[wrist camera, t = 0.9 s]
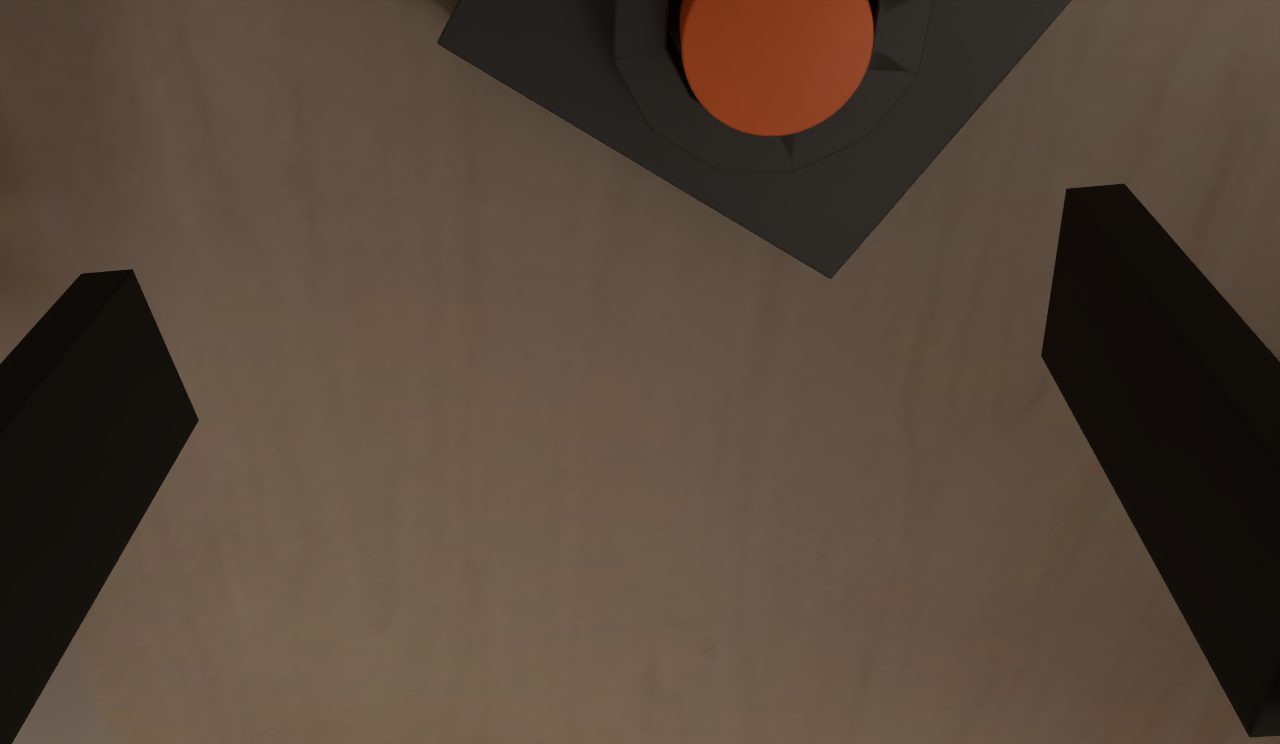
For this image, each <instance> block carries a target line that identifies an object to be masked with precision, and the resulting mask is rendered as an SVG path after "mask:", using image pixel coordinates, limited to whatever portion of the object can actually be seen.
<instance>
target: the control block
mask: <svg viewBox="0 0 1280 744" xmlns="http://www.w3.org/2000/svg"><path fill="white" fill-rule="evenodd" d="M682 1H683V0H459V1H458V3H457V5H456V7H455V9H454V11H453V13H452V15H451V17H450V19H449V20H448V22H447V24H446V26H445V28H444V30H443V32H442V34H441V36H440V38H439V40H438V44H439V45H440V46H442V47H443V48H445V49H447V50H448V51H450V52H452V53H453V54H455V55H457V56H459V57H460V58H462V59H464V60H465V61H467V62H469V63H470V64H472V65H474V66H475V67H477V68H479V69H480V70H482V71H484V72H485V73H487V74H489V75H490V76H492V77H494V78H495V79H497V80H499V81H500V82H502V83H504V84H505V85H507V86H509V87H510V88H512V89H514V90H515V91H517V92H519V93H520V94H522V95H524V96H525V97H527V98H529V99H530V100H532V101H534V102H535V103H537V104H539V105H540V106H542V107H544V108H545V109H547V110H549V111H550V112H552V113H554V114H555V115H557V116H559V117H560V118H562V119H564V120H565V121H567V122H569V123H570V124H572V125H574V126H576V127H577V128H579V129H581V130H582V131H584V132H586V133H587V134H589V135H591V136H592V137H594V138H596V139H597V140H599V141H601V142H602V143H604V144H606V145H607V146H609V147H611V148H612V149H614V150H616V151H617V152H619V153H621V154H622V155H624V156H626V157H627V158H629V159H631V160H632V161H634V162H636V163H637V164H639V165H641V166H642V167H644V168H646V169H647V170H649V171H651V172H652V173H654V174H656V175H657V176H659V177H661V178H662V179H664V180H666V181H667V182H669V183H671V184H672V185H674V186H676V187H677V188H679V189H681V190H682V191H684V192H686V193H687V194H689V195H691V196H693V197H694V198H696V199H698V200H699V201H701V202H703V203H704V204H706V205H708V206H709V207H711V208H713V209H714V210H716V211H718V212H719V213H721V214H723V215H724V216H726V217H728V218H729V219H731V220H733V221H734V222H736V223H738V224H739V225H741V226H743V227H744V228H746V229H748V230H749V231H751V232H753V233H754V234H756V235H758V236H759V237H761V238H763V239H764V240H766V241H768V242H769V243H771V244H773V245H774V246H776V247H778V248H779V249H781V250H783V251H784V252H786V253H788V254H789V255H791V256H793V257H794V258H796V259H798V260H799V261H801V262H803V263H805V264H806V265H808V266H810V267H811V268H813V269H815V270H816V271H818V272H820V273H821V274H823V275H825V276H826V277H828V278H830V279H831V278H832V277H833V276H834V275H835V274H836V273H837V271H838V270H839V269H840V268H841V267H842V266H843V264H844V263H845V262H846V261H847V260H848V259H849V258H850V256H851V255H852V254H853V253H854V252H855V251H856V249H857V248H858V247H859V246H860V245H861V244H862V242H863V241H864V240H865V239H866V238H867V237H868V236H869V234H870V233H871V232H872V231H873V230H874V229H875V227H876V226H877V225H878V224H879V223H880V222H881V220H882V219H883V218H884V217H885V216H886V215H887V213H888V212H889V211H890V210H891V209H892V208H893V207H894V205H895V204H896V203H897V202H898V201H899V200H900V198H901V197H902V196H903V195H904V194H905V193H906V191H907V190H908V189H909V188H910V187H911V186H912V185H913V183H914V182H915V181H916V180H917V179H918V178H919V176H920V175H921V174H922V173H923V172H924V171H925V169H926V168H927V167H928V166H929V165H930V164H931V162H932V161H933V160H934V159H935V158H936V157H937V156H938V154H939V153H940V152H941V151H942V150H943V149H944V147H945V146H946V145H947V144H948V143H949V142H950V140H951V139H952V138H953V137H954V136H955V135H956V134H957V132H958V131H959V130H960V129H961V128H962V127H963V125H964V124H965V123H966V122H967V121H968V120H969V118H970V117H971V116H972V115H973V114H974V113H975V112H976V110H977V109H978V108H979V107H980V106H981V105H982V103H983V102H984V101H985V100H986V99H987V98H988V96H989V95H990V94H991V93H992V92H993V91H994V89H995V88H996V87H997V86H998V85H999V84H1000V83H1001V81H1002V80H1003V79H1004V78H1005V77H1006V76H1007V74H1008V73H1009V72H1010V71H1011V70H1012V69H1013V67H1014V66H1015V65H1016V64H1017V63H1018V62H1019V61H1020V59H1021V58H1022V57H1023V56H1024V55H1025V54H1026V52H1027V51H1028V50H1029V49H1030V48H1031V47H1032V45H1033V44H1034V43H1035V42H1036V41H1037V40H1038V39H1039V37H1040V36H1041V35H1042V34H1043V33H1044V32H1045V30H1046V29H1047V28H1048V27H1049V26H1050V25H1051V23H1052V22H1053V21H1054V20H1055V19H1056V18H1057V16H1058V15H1059V14H1060V13H1061V12H1062V11H1063V10H1064V8H1065V7H1066V6H1067V5H1068V4H1069V3H1070V1H1071V0H868V2H869V5H870V8H871V12H872V17H873V24H874V41H873V50H872V54H871V58H870V62H869V65H868V68H867V70H866V73H865V75H864V77H863V79H862V81H861V83H860V85H859V86H858V88H857V89H856V91H855V92H854V93H853V95H852V96H851V97H850V98H849V100H848V101H847V102H846V103H845V104H844V105H843V106H842V107H841V108H840V109H839V110H838V111H837V112H835V113H834V114H833V115H831V116H830V117H829V118H827V119H826V120H824V121H823V122H821V123H819V124H817V125H815V126H813V127H811V128H808V129H806V130H803V131H801V132H797V133H793V134H788V135H781V136H760V135H753V134H749V133H745V132H741V131H739V130H736V129H733V128H731V127H729V126H728V125H726V124H724V123H722V122H721V121H719V120H718V119H716V118H715V117H714V116H712V115H711V114H710V113H709V112H708V111H707V110H706V109H705V108H704V107H703V106H702V104H701V103H700V102H699V100H698V99H697V98H696V96H695V94H694V93H693V91H692V89H691V87H690V85H689V83H688V80H687V78H686V75H685V71H684V67H683V61H682V54H681V41H680V11H681V4H682Z"/></svg>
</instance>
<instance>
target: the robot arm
mask: <svg viewBox="0 0 1280 744" xmlns="http://www.w3.org/2000/svg"><path fill="white" fill-rule="evenodd" d="M1041 356H1042V358H1043V360H1044V362H1045V364H1046V366H1047V367H1048V369H1049V371H1050V373H1051V375H1052V377H1053V378H1054V380H1055V382H1056V384H1057V386H1058V388H1059V389H1060V391H1061V393H1062V395H1063V397H1064V398H1065V400H1066V402H1067V404H1068V406H1069V408H1070V409H1071V411H1072V413H1073V415H1074V417H1075V419H1076V420H1077V422H1078V424H1079V426H1080V428H1081V430H1082V431H1083V433H1084V435H1085V437H1086V439H1087V441H1088V442H1089V444H1090V446H1091V448H1092V450H1093V452H1094V453H1095V455H1096V457H1097V459H1098V461H1099V463H1100V464H1101V466H1102V468H1103V470H1104V472H1105V474H1106V475H1107V477H1108V479H1109V481H1110V483H1111V485H1112V486H1113V488H1114V490H1115V492H1116V494H1117V496H1118V497H1119V499H1120V501H1121V503H1122V505H1123V506H1124V508H1125V510H1126V512H1127V514H1128V516H1129V517H1130V519H1131V521H1132V523H1133V525H1134V527H1135V528H1136V530H1137V532H1138V534H1139V536H1140V538H1141V539H1142V541H1143V543H1144V545H1145V547H1146V549H1147V550H1148V552H1149V554H1150V556H1151V558H1152V560H1153V561H1154V563H1155V565H1156V567H1157V569H1158V571H1159V572H1160V574H1161V576H1162V578H1163V580H1164V582H1165V583H1166V585H1167V587H1168V589H1169V591H1170V593H1171V594H1172V596H1173V598H1174V600H1175V602H1176V604H1177V605H1178V607H1179V609H1180V611H1181V613H1182V615H1183V616H1184V618H1185V620H1186V622H1187V624H1188V625H1189V627H1190V629H1191V631H1192V633H1193V635H1194V636H1195V638H1196V640H1197V642H1198V644H1199V646H1200V647H1201V649H1202V651H1203V653H1204V655H1205V657H1206V658H1207V660H1208V662H1209V664H1210V666H1211V668H1212V669H1213V671H1214V673H1215V675H1216V677H1217V679H1218V680H1219V682H1220V684H1221V686H1222V688H1223V690H1224V691H1225V693H1226V695H1227V697H1228V699H1229V701H1230V702H1231V704H1232V706H1233V708H1234V710H1235V712H1236V713H1237V715H1238V717H1239V719H1240V721H1241V723H1242V724H1243V726H1244V728H1245V730H1246V732H1247V733H1248V735H1249V737H1263V736H1280V362H1279V361H1278V360H1277V358H1276V357H1275V356H1274V355H1273V354H1272V353H1271V351H1270V350H1269V349H1268V348H1267V347H1266V346H1265V345H1264V343H1263V342H1262V341H1261V340H1260V339H1259V338H1258V337H1257V335H1256V334H1255V333H1254V332H1253V331H1252V330H1251V329H1250V327H1249V326H1248V325H1247V324H1246V323H1245V322H1244V321H1243V319H1242V318H1241V317H1240V316H1239V315H1238V314H1237V312H1236V311H1235V310H1234V309H1233V308H1232V307H1231V306H1230V304H1229V303H1228V302H1227V301H1226V300H1225V299H1224V298H1223V296H1222V295H1221V294H1220V293H1219V292H1218V291H1217V290H1216V288H1215V287H1214V286H1213V285H1212V284H1211V283H1210V282H1209V280H1208V279H1207V278H1206V277H1205V276H1204V275H1203V273H1202V272H1201V271H1200V270H1199V269H1198V268H1197V267H1196V265H1195V264H1194V263H1193V262H1192V261H1191V260H1190V259H1189V257H1188V256H1187V255H1186V254H1185V253H1184V252H1183V251H1182V249H1181V248H1180V247H1179V246H1178V245H1177V244H1176V243H1175V241H1174V240H1173V239H1172V238H1171V237H1170V236H1169V234H1168V233H1167V232H1166V231H1165V230H1164V229H1163V228H1162V226H1161V225H1160V224H1159V223H1158V222H1157V221H1156V220H1155V218H1154V217H1153V216H1152V215H1151V214H1150V213H1149V212H1148V210H1147V209H1146V208H1145V207H1144V206H1143V205H1142V203H1141V202H1140V201H1139V200H1138V199H1137V198H1136V197H1135V195H1134V194H1133V193H1132V192H1131V191H1130V190H1129V189H1128V187H1127V186H1126V185H1125V184H1116V185H1104V186H1092V187H1081V188H1069V189H1066V194H1065V201H1064V208H1063V214H1062V221H1061V228H1060V234H1059V241H1058V248H1057V254H1056V261H1055V268H1054V274H1053V281H1052V288H1051V294H1050V301H1049V308H1048V314H1047V321H1046V328H1045V334H1044V341H1043V348H1042V354H1041ZM198 421H199V420H198V417H197V415H196V413H195V411H194V408H193V406H192V404H191V401H190V399H189V397H188V395H187V392H186V390H185V388H184V385H183V383H182V381H181V379H180V376H179V374H178V372H177V370H176V367H175V365H174V363H173V360H172V358H171V356H170V354H169V351H168V349H167V347H166V344H165V342H164V340H163V338H162V335H161V333H160V331H159V328H158V326H157V324H156V322H155V319H154V317H153V315H152V313H151V310H150V308H149V306H148V303H147V301H146V299H145V297H144V294H143V292H142V290H141V287H140V285H139V283H138V281H137V278H136V276H135V274H134V271H133V269H131V270H119V271H107V272H96V273H84V274H81V275H80V276H79V277H78V278H77V279H76V280H75V281H74V282H73V284H72V285H71V286H70V287H69V288H68V289H67V290H66V291H65V293H64V294H63V295H62V296H61V297H60V298H59V299H58V300H57V301H56V303H55V304H54V305H53V306H52V307H51V308H50V309H49V310H48V311H47V313H46V314H45V315H44V316H43V317H42V318H41V319H40V320H39V322H38V323H37V324H36V325H35V326H34V327H33V328H32V329H31V330H30V332H29V333H28V334H27V335H26V336H25V337H24V338H23V339H22V340H21V342H20V343H19V344H18V345H17V346H16V347H15V348H14V349H13V351H12V352H11V353H10V354H9V355H8V356H7V357H6V358H5V359H4V361H3V362H2V363H1V364H0V744H12V743H13V741H14V739H15V737H16V736H17V734H18V732H19V730H20V729H21V727H22V725H23V724H24V722H25V720H26V718H27V717H28V715H29V713H30V711H31V709H32V708H33V706H34V704H35V703H36V701H37V699H38V698H39V696H40V694H41V692H42V691H43V689H44V687H45V685H46V684H47V682H48V680H49V679H50V677H51V675H52V673H53V672H54V670H55V668H56V666H57V665H58V663H59V661H60V659H61V658H62V656H63V654H64V653H65V651H66V649H67V647H68V646H69V644H70V642H71V640H72V639H73V637H74V635H75V634H76V632H77V630H78V628H79V627H80V625H81V623H82V621H83V620H84V618H85V616H86V614H87V613H88V611H89V609H90V608H91V606H92V604H93V602H94V601H95V599H96V597H97V595H98V594H99V592H100V590H101V589H102V587H103V585H104V583H105V582H106V580H107V578H108V576H109V575H110V573H111V571H112V569H113V568H114V566H115V564H116V563H117V561H118V559H119V557H120V556H121V554H122V552H123V550H124V549H125V547H126V545H127V544H128V542H129V540H130V538H131V537H132V535H133V533H134V531H135V530H136V528H137V526H138V524H139V523H140V521H141V519H142V518H143V516H144V514H145V512H146V511H147V509H148V507H149V505H150V504H151V502H152V500H153V499H154V497H155V495H156V493H157V492H158V490H159V488H160V486H161V485H162V483H163V481H164V479H165V478H166V476H167V474H168V473H169V471H170V469H171V467H172V466H173V464H174V462H175V460H176V459H177V457H178V455H179V454H180V452H181V450H182V448H183V447H184V445H185V443H186V441H187V440H188V438H189V436H190V434H191V433H192V431H193V429H194V428H195V426H196V424H197V422H198Z"/></svg>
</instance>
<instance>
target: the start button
mask: <svg viewBox="0 0 1280 744" xmlns="http://www.w3.org/2000/svg"><path fill="white" fill-rule="evenodd" d="M680 41H681V54H682V61H683V67H684V71H685V75H686V78H687V80H688V83H689V85H690V87H691V89H692V91H693V93H694V94H695V96H696V98H697V99H698V100H699V102H700V103H701V104H702V106H703V107H704V108H705V109H706V110H707V111H708V112H709V113H710V114H711V115H712V116H714V117H715V118H716V119H718V120H719V121H721V122H722V123H724V124H726V125H728V126H729V127H731V128H733V129H736V130H739V131H741V132H745V133H749V134H753V135H760V136H781V135H788V134H793V133H797V132H801V131H803V130H806V129H808V128H811V127H813V126H815V125H817V124H819V123H821V122H823V121H824V120H826V119H827V118H829V117H830V116H831V115H833V114H834V113H835V112H837V111H838V110H839V109H840V108H841V107H842V106H843V105H844V104H845V103H846V102H847V101H848V100H849V98H850V97H851V96H852V95H853V93H854V92H855V91H856V89H857V88H858V86H859V85H860V83H861V81H862V79H863V77H864V75H865V73H866V70H867V68H868V65H869V62H870V58H871V54H872V50H873V41H874V24H873V17H872V12H871V8H870V5H869V2H868V0H683V1H682V4H681V11H680Z"/></svg>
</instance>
